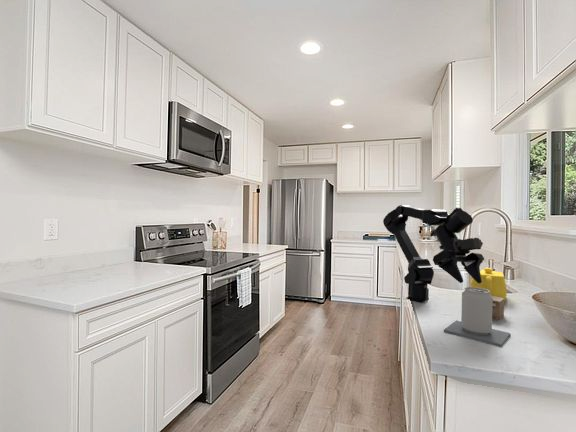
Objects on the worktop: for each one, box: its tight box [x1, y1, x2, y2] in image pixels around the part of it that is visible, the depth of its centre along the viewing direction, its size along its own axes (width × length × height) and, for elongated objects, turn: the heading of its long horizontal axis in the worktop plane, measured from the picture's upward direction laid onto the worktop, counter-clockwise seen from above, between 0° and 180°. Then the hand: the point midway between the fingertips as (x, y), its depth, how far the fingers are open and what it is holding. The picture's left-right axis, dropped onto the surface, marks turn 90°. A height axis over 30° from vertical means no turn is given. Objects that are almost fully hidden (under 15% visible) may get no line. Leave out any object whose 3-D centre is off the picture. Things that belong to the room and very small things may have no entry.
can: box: [460, 286, 493, 335], centre depth 91 cm, size 8×8×12 cm
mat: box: [443, 319, 511, 348], centre depth 91 cm, size 14×11×1 cm
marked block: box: [492, 296, 505, 321], centre depth 106 cm, size 6×6×6 cm
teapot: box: [470, 267, 507, 303], centre depth 130 cm, size 20×12×12 cm, turn 149°
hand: (471, 282), depth 101 cm, fingers open, 9 cm apart
